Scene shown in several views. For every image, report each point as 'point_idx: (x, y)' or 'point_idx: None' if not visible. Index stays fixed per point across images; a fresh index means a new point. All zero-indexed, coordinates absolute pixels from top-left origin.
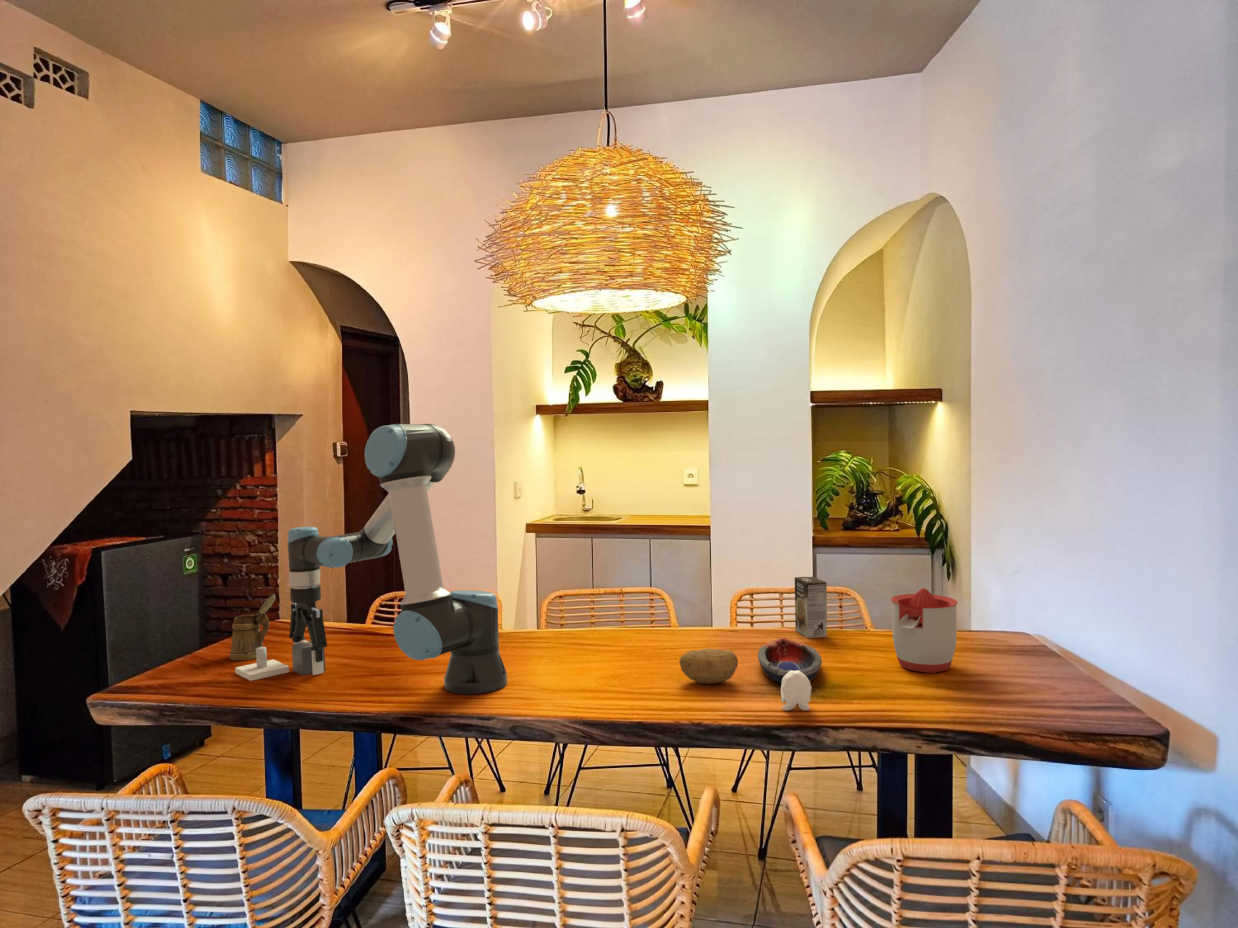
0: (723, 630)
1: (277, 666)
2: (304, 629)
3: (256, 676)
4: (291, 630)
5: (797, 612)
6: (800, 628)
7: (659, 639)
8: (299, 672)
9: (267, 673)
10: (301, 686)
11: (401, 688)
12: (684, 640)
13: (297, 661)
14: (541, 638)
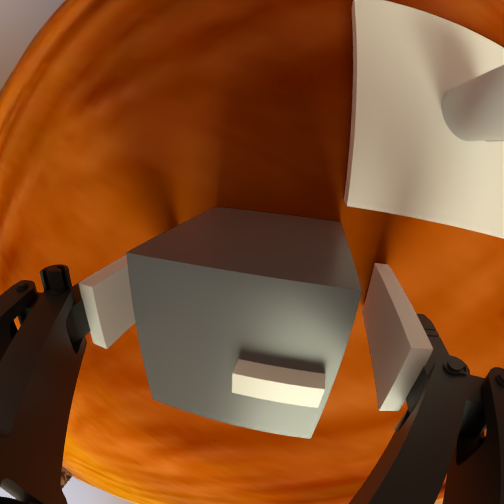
0: (89, 483)
1: (404, 163)
2: (354, 496)
3: (353, 25)
4: (500, 428)
5: (62, 479)
6: (63, 471)
7: (85, 474)
8: (255, 212)
9: (355, 76)
10: (92, 131)
11: (3, 287)
12: (76, 469)
13: (262, 228)
14: (142, 494)
